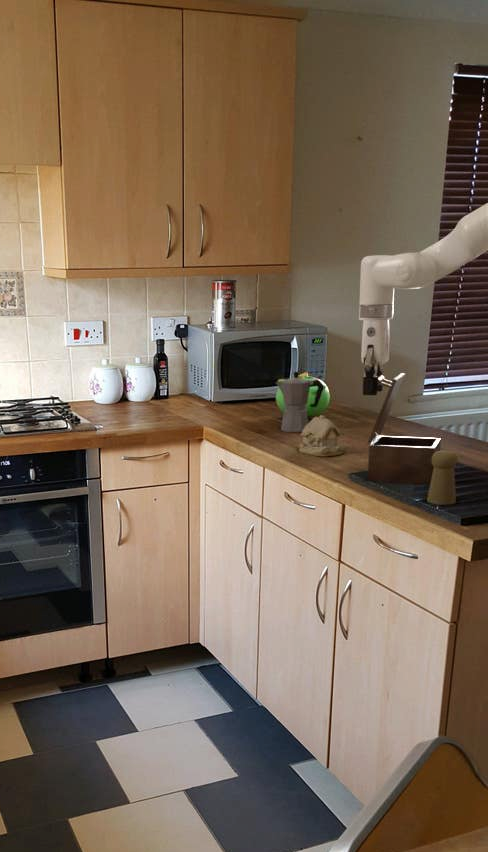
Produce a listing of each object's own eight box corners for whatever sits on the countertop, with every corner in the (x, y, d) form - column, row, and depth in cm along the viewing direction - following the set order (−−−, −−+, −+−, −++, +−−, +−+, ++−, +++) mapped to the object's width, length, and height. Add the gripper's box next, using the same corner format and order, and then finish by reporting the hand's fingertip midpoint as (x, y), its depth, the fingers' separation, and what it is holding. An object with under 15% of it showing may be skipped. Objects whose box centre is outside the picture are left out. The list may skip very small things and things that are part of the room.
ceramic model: (290, 449, 245) (291, 413, 242) (324, 445, 249) (325, 410, 246) (319, 458, 233) (320, 420, 230) (353, 453, 237) (355, 416, 234)
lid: (405, 373, 206) (383, 366, 208) (396, 380, 195) (373, 371, 197) (380, 434, 213) (359, 426, 214) (370, 443, 202) (349, 435, 203)
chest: (438, 474, 211) (440, 438, 208) (431, 486, 200) (434, 448, 197) (377, 471, 216) (378, 435, 213) (367, 482, 205) (369, 445, 202)
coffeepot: (270, 431, 274) (270, 372, 268) (280, 426, 282) (281, 369, 276) (317, 434, 267) (319, 374, 261) (326, 429, 275) (328, 370, 269)
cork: (447, 498, 189) (451, 447, 185) (461, 505, 183) (465, 453, 180) (421, 500, 188) (425, 449, 184) (434, 507, 182) (438, 455, 179)
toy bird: (330, 414, 303) (331, 370, 298) (327, 422, 287) (328, 376, 283) (278, 413, 307) (278, 371, 302) (272, 421, 291) (273, 376, 287)
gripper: (386, 314, 190) (382, 398, 196) (398, 310, 205) (394, 388, 211) (351, 315, 193) (348, 397, 198) (366, 311, 208) (363, 388, 213)
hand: (372, 392), depth 204 cm, fingers closed on lid, 6 cm apart
